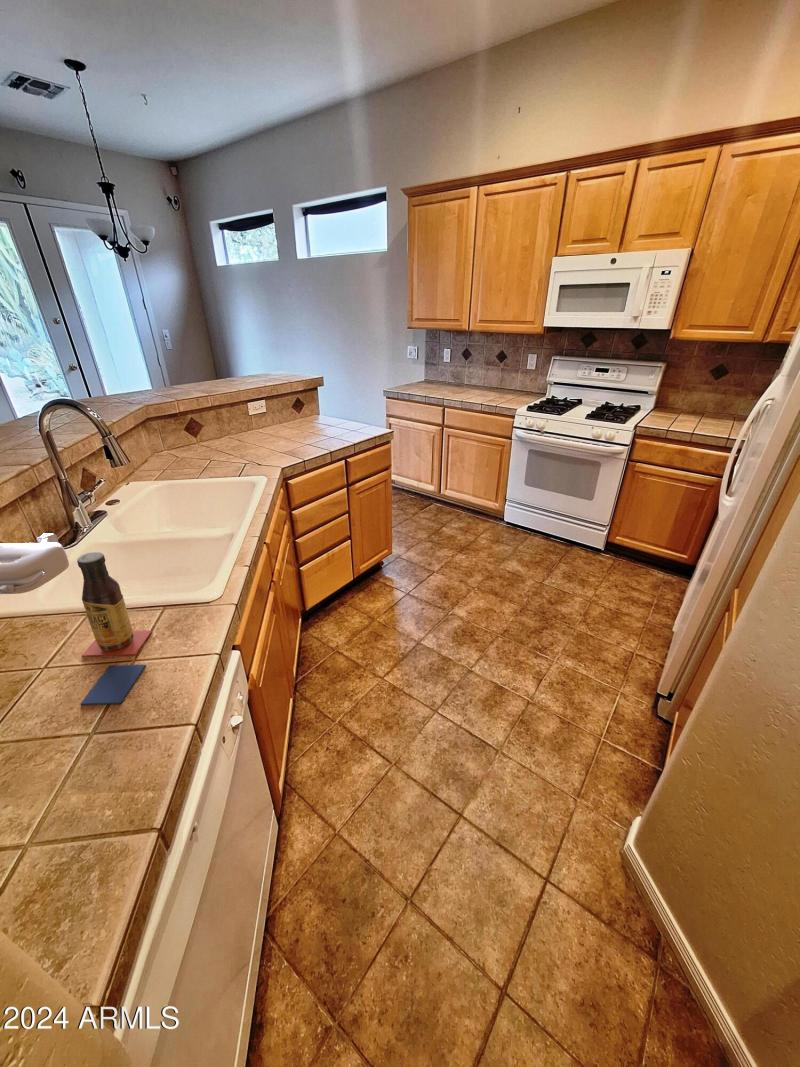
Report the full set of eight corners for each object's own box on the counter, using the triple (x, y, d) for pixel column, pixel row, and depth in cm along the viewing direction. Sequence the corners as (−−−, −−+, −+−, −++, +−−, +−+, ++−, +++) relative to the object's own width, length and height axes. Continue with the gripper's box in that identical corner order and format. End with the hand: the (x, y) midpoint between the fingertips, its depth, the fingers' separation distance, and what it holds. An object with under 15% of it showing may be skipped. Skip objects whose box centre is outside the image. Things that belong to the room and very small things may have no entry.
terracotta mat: (81, 657, 82) (81, 655, 82) (102, 632, 89) (102, 631, 89) (135, 655, 83) (135, 654, 83) (152, 631, 89) (152, 630, 89)
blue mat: (80, 705, 72) (80, 703, 72) (109, 667, 80) (109, 665, 80) (121, 704, 73) (120, 702, 72) (146, 665, 81) (145, 664, 80)
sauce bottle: (91, 648, 84) (57, 560, 75) (119, 629, 89) (91, 545, 80) (115, 657, 82) (83, 568, 73) (143, 637, 87) (116, 551, 78)
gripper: (14, 567, 49) (86, 518, 61) (-181, 570, 47) (-67, 519, 60) (34, 612, 51) (99, 556, 64) (-150, 616, 50) (-47, 558, 63)
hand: (17, 538), depth 62 cm, fingers open, 8 cm apart
